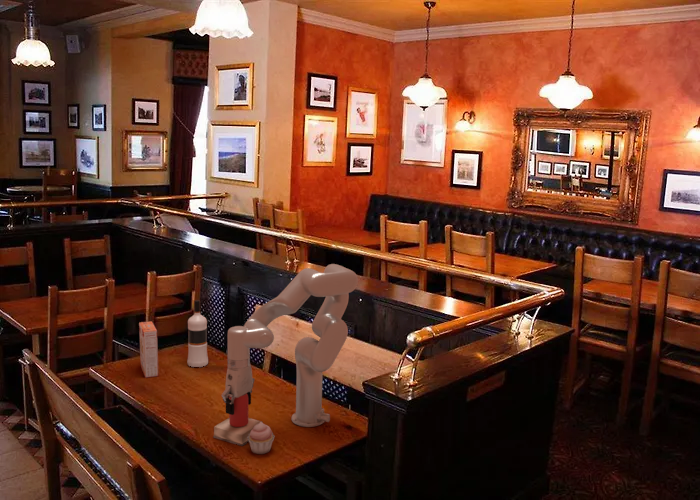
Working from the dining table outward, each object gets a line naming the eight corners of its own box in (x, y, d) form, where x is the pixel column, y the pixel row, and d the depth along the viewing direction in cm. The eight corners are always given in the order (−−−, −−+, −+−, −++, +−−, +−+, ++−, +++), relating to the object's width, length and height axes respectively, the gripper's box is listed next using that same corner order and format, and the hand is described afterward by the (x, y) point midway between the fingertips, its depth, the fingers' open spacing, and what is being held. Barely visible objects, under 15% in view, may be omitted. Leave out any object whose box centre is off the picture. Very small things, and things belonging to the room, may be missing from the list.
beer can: (244, 429, 227) (244, 396, 225) (226, 426, 228) (226, 394, 226) (251, 421, 233) (251, 389, 231) (233, 418, 235) (233, 387, 233)
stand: (263, 431, 234) (263, 421, 234) (242, 446, 223) (242, 435, 223) (235, 423, 240) (235, 413, 239) (213, 437, 229) (213, 426, 228)
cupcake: (274, 442, 227) (274, 415, 225) (275, 456, 218) (275, 427, 216) (246, 443, 225) (246, 416, 223) (246, 457, 216) (246, 429, 214)
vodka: (184, 367, 293) (183, 302, 288) (191, 360, 302) (190, 297, 297) (204, 368, 292) (204, 303, 287) (210, 361, 301) (210, 298, 296)
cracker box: (139, 367, 292) (138, 321, 288) (153, 365, 294) (152, 320, 290) (144, 378, 279) (142, 331, 275) (158, 376, 282) (157, 329, 278)
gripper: (232, 372, 217) (232, 420, 221) (262, 356, 233) (261, 402, 236) (213, 367, 221) (214, 415, 224) (244, 353, 236) (244, 397, 239)
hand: (238, 408), depth 230 cm, fingers open, 9 cm apart
